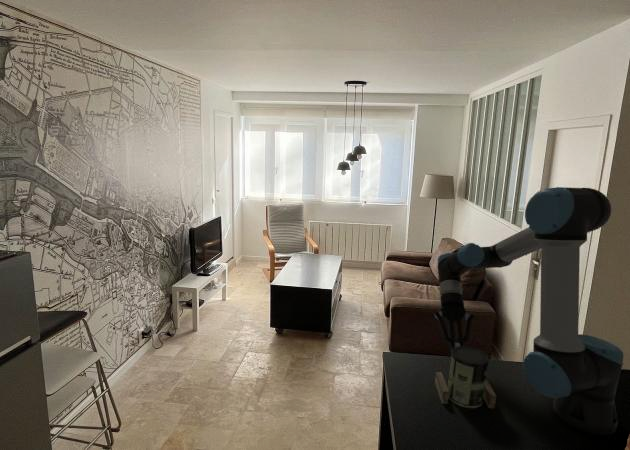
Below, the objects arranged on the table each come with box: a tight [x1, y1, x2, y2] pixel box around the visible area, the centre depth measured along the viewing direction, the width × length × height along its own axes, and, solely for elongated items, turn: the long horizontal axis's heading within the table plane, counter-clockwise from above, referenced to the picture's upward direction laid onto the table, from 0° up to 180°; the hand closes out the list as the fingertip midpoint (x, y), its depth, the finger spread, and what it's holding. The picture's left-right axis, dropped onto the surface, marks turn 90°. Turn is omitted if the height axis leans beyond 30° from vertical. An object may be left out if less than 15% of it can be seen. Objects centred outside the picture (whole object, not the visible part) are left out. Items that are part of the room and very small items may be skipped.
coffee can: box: [447, 345, 490, 409], centre depth 119 cm, size 10×10×14 cm
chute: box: [434, 371, 497, 409], centre depth 121 cm, size 15×10×4 cm
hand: (458, 364), depth 128 cm, fingers closed
